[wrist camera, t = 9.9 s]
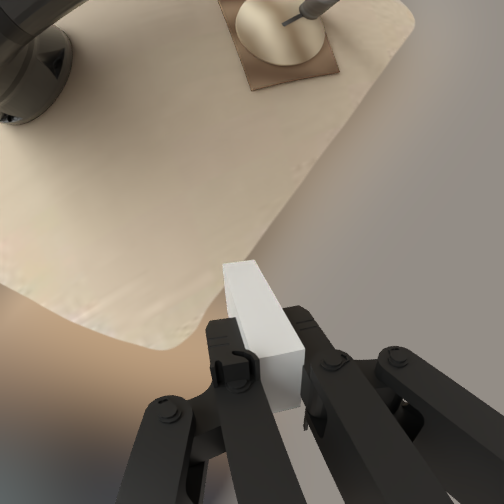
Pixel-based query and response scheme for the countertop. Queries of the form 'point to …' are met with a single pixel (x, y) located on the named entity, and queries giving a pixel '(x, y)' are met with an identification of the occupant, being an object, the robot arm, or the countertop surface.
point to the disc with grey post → (282, 29)
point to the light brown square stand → (270, 74)
